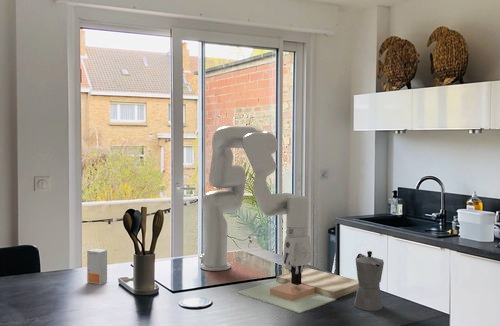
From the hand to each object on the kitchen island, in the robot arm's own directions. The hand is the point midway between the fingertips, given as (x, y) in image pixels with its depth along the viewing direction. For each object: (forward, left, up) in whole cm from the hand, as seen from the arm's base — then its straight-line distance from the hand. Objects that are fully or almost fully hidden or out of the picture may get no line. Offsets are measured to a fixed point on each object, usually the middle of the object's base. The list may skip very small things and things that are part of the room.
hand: (296, 283), depth 181 cm
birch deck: (0, +13, -3) cm, 13 cm away
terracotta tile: (0, -2, -3) cm, 4 cm away
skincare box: (-58, -44, -3) cm, 73 cm away
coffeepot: (+24, +7, -3) cm, 25 cm away
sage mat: (0, -5, -3) cm, 6 cm away
